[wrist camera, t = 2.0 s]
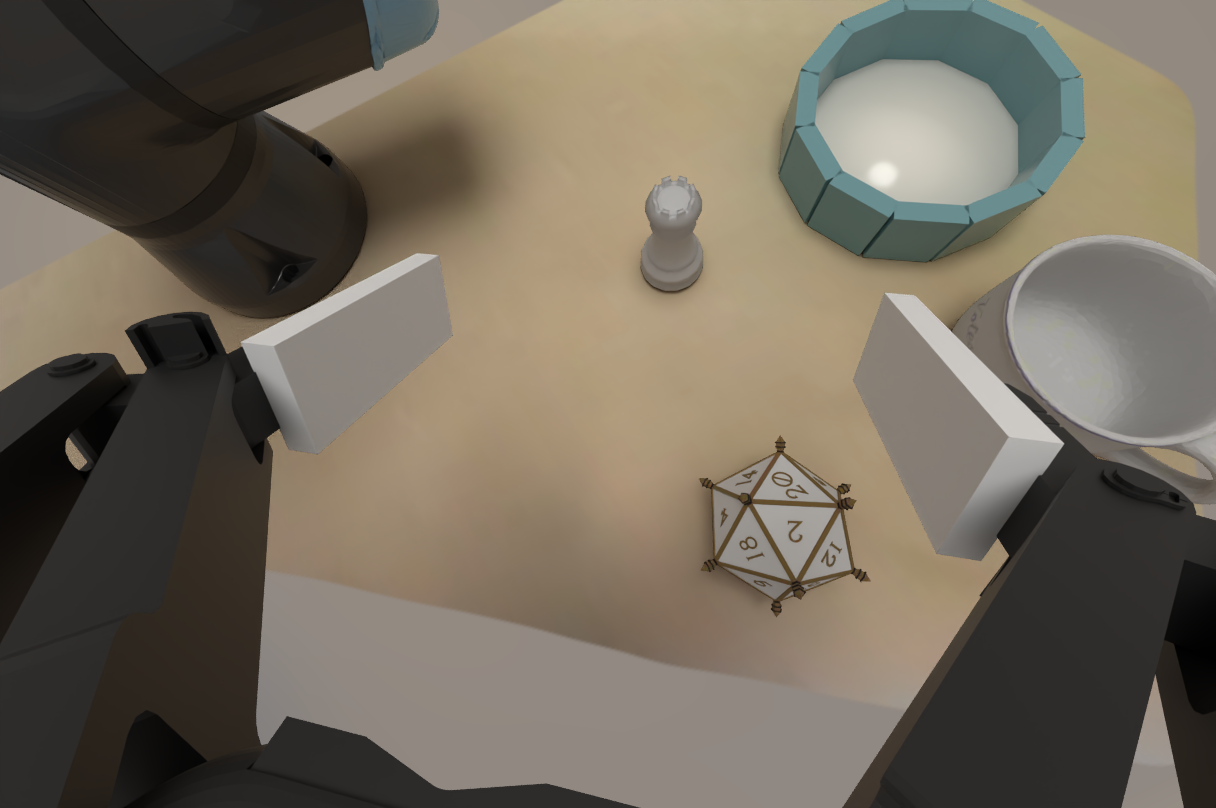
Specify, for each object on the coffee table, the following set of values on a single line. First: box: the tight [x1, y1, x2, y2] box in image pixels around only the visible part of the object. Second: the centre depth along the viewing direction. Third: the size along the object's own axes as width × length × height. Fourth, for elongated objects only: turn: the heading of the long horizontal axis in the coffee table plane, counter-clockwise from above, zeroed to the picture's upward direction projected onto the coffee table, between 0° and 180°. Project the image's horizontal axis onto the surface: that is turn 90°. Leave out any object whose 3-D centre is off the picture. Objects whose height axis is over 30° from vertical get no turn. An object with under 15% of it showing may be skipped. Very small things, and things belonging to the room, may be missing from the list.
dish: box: [778, 0, 1085, 262], centre depth 31 cm, size 16×16×4 cm
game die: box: [699, 435, 870, 617], centre depth 26 cm, size 9×8×10 cm
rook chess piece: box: [641, 176, 703, 291], centre depth 30 cm, size 4×4×8 cm
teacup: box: [952, 235, 1216, 504], centre depth 25 cm, size 14×11×8 cm
